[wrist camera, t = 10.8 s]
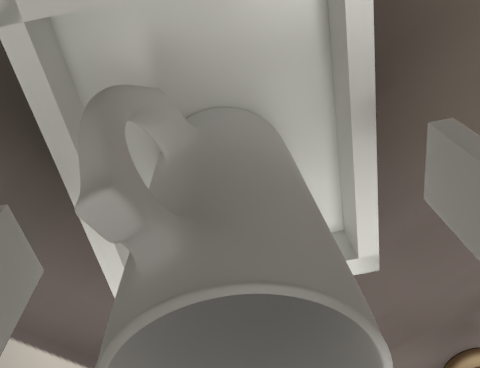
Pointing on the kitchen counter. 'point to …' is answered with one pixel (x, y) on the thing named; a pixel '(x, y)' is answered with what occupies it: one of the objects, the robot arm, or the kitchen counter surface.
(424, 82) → the kitchen counter surface
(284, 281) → the mug
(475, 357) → the post
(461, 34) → the kitchen counter surface
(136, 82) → the tray
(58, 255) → the kitchen counter surface
